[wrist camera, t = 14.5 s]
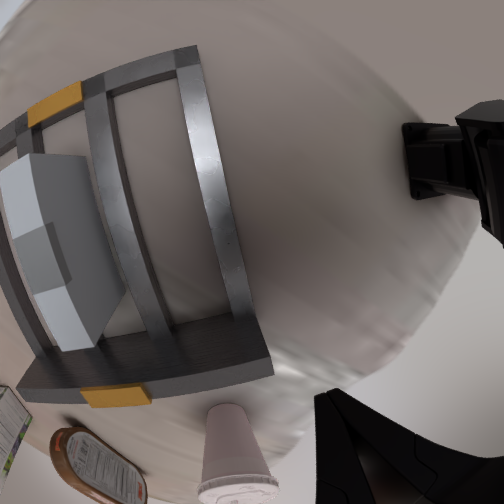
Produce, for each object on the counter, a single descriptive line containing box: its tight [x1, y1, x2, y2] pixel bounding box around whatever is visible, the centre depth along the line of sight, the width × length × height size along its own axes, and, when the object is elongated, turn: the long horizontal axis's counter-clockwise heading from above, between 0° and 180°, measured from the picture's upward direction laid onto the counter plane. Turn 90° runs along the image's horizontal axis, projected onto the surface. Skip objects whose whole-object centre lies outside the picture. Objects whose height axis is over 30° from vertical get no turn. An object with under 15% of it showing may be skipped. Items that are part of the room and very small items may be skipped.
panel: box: [0, 153, 126, 352], centre depth 13 cm, size 2×10×7 cm, turn 12°
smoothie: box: [197, 403, 280, 504], centre depth 16 cm, size 6×6×14 cm
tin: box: [49, 427, 148, 504], centre depth 19 cm, size 15×3×8 cm, turn 23°
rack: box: [0, 45, 275, 408], centre depth 13 cm, size 20×20×6 cm
